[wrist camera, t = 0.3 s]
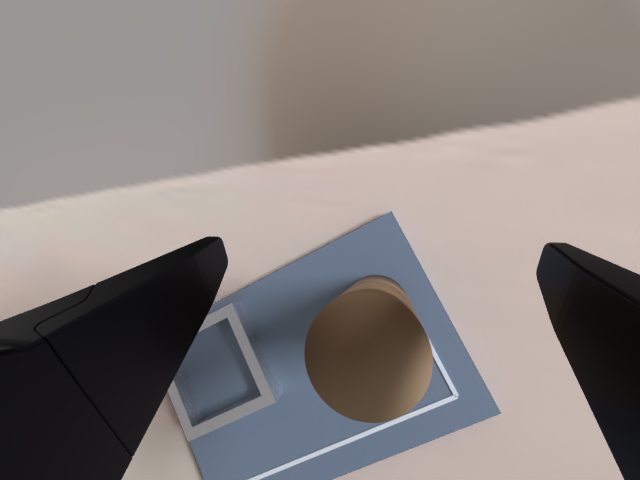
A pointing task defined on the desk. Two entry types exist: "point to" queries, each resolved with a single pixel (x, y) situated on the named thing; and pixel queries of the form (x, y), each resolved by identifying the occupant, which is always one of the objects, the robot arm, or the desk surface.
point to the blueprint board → (290, 371)
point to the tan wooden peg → (369, 352)
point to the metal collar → (259, 368)
